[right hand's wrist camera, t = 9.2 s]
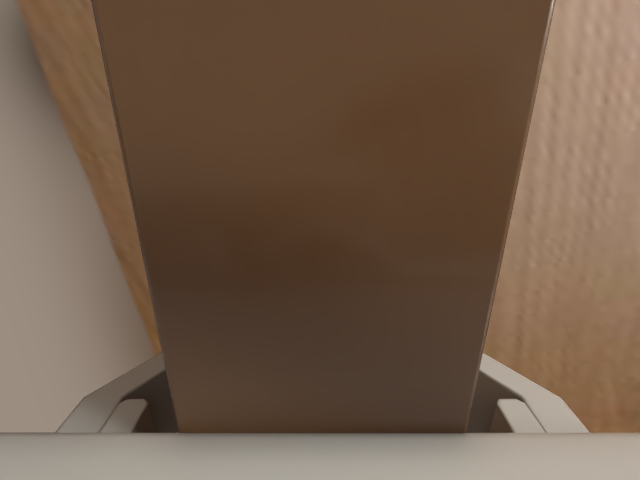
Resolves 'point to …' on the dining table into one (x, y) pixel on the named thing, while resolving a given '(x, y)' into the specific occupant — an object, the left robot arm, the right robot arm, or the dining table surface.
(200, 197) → the beam
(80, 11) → the dining table surface
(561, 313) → the dining table surface
